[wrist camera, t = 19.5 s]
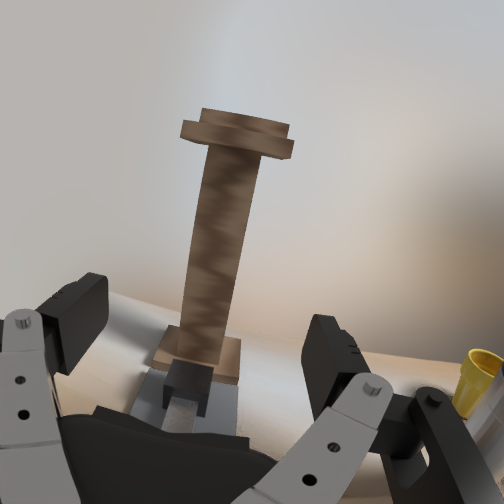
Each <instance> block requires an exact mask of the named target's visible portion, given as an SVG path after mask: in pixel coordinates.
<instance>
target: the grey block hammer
mask: <svg viewBox="0 0 504 504" xmlns="http://www.w3.org/2000/svg"><path fill="white" fill-rule="evenodd" d="M213 371H214V367H210V366H205V365H201V364H196V363H191V362H187V361H182V360H178V359H174V358H173V361H172V363H171V366H170V369H169V371H168V374H167V376H166V379H165V382H164V384H163V404H162V408H163V409H167V412H166V415H165V419H164V422H163V425H162V428H161V430H163V431H166V432H169V433H193V430H194V425H195V420H196V416H198V417H203V418H205V415H206V409H207V404H208V398H209V393H210V387H211V382H212V376H213Z"/></svg>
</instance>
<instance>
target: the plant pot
mask: <svg viewBox="0 0 504 504" xmlns="http://www.w3.org/2000/svg"><path fill="white" fill-rule="evenodd" d="M503 362H504V360H503V359H502V358H500V357H498V356H497V355H495V354H493V353H491V352H488V351H485V350H481V349H472V350H470V351H469V352H468V354H467V356H466V358H465V360H464V362H463V364H462V366H461V370H460V371H461V376H460V380H459V382H458V385H457V388H456V391H455V394H454V396H453V399H452V404H453V406H454V407H455V409H456V411H457V412H458V414H459V415H460V416H461V417H463V418H465V419H468V418H469V416H470V415H471V414H472V412H473V411H474V409H475V408H476V406H477V405H478V403H479V402H480V400H481V399H482V397H483V396H484V394H485V393H486V391H487V389H488V388H489V386H490V384H491V383H492V381H493V379H494V378H495V376H496V374H497V373H498V371H499V369H500V367H501V366H502V363H503Z"/></svg>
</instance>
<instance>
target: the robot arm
mask: <svg viewBox="0 0 504 504" xmlns="http://www.w3.org/2000/svg"><path fill="white" fill-rule="evenodd" d="M108 315H109V303H108V279H107V277H106V276H103V275H99V274H95V273H90V272H89V273H87V274H86V275H85V276H83V277H82V278H81V279H79V280H78V281H77V282H76V281H75V282H72V283H70V284H67V285H65V286H64V287H62V288H61V289H60V290H59V291H58V293H57V292H56V293H55V294H54V295H52V297H50V298H49V299H48V300H46V301H45V302H44V303H43V304H42V305H40V306H39V307H38V308H37V309H36V310H31V309H19V310H16V311H13V312H11V313H9V314H8V315H7V316H6V317H5V319H4V320H0V504H337V503H338V501H339V500H340V498H341V497H342V495H343V493H344V492H345V490H346V489H347V487H348V485H349V484H350V482H351V481H352V479H353V477H354V475H355V474H356V472H357V470H358V469H359V467H360V465H361V463H362V461H363V460H364V458H365V456H366V454H367V452H372V453H377V454H380V456H381V460H382V463H383V467H384V470H385V474H386V477H387V481H388V485H389V488H390V492H391V496H392V500H393V503H394V504H504V499H503V497H502V494H501V492H500V490H499V488H498V486H497V483H498V482H499V481H500V480H501V479H502V478H503V477H504V362H503V363H502V366H501V367H500V369H499V371H498V373H497V374H496V376H495V378H494V379H493V381H492V383H491V384H490V386H489V388H488V389H487V391H486V393H485V394H484V396H483V397H482V399H481V400H480V402H479V403H478V405H477V406H476V408H475V409H474V411H473V412H472V414H471V415H470V416H469V418H468V419H467V421H466V422H465V423H464V422H463V421H462V419H461V417H460V416H459V414H458V412H457V411H456V409H455V407H454V406H453V404H452V402H451V401H450V399H449V398H448V396H447V395H446V394H444V393H443V392H442V391H440V390H438V389H436V388H433V387H421V388H419V389H418V390H417V392H416V393H415V395H414V397H413V398H412V397H407V396H403V395H398V394H394V393H393V388H392V386H391V384H390V383H389V382H388V381H387V380H385V379H384V378H382V377H381V376H379V375H376V374H373V373H371V371H370V369H369V367H368V365H367V363H366V361H365V360H364V358H363V356H362V354H361V352H360V350H359V348H358V347H357V344H356V342H355V340H354V338H353V337H352V336H351V335H350V334H348V333H347V332H346V331H345V330H340V328H339V325H338V324H337V321H336V319H335V317H334V316H327V315H319V314H314V316H313V318H312V320H311V323H310V327H309V330H308V333H307V336H306V339H305V342H304V345H303V349H302V354H301V363H302V368H303V372H304V377H305V381H306V386H307V390H308V395H309V400H310V404H311V409H312V413H313V418H314V423H313V424H312V425H311V427H310V428H309V429H308V430H307V431H306V432H305V434H304V435H303V436H302V437H301V438H300V439H299V440H298V442H297V443H296V444H295V445H294V446H293V447H292V448H291V449H290V450H289V451H288V453H287V454H286V455H285V456H284V457H283V458H282V459H281V460H280V461H279V462H278V461H276V460H275V459H273V458H271V457H269V456H267V455H265V454H263V453H261V452H258V451H256V450H253V449H250V448H249V438H248V437H239V436H231V435H224V434H217V433H169V432H166V431H163V430H161V429H159V428H157V427H154V426H152V425H150V424H148V423H146V422H144V421H142V420H140V419H138V418H136V417H134V416H131V415H128V414H124V413H121V412H117V411H114V410H111V409H108V408H104V407H101V406H98V405H97V407H96V409H95V411H94V412H93V414H92V415H89V414H75V415H67V416H63V414H62V410H61V406H60V402H59V398H58V393H57V389H56V384H55V380H54V375H55V373H56V372H59V373H61V374H64V375H67V376H69V374H70V373H71V372H72V370H73V369H74V367H75V366H76V365H77V363H78V362H79V361H80V359H81V358H82V357H83V355H84V354H85V352H86V351H87V350H88V348H89V347H90V346H91V344H92V343H93V342H94V340H95V339H96V338H97V336H98V335H99V334H100V333H101V331H102V330H103V329H104V327H105V326H106V324H107V321H108ZM424 445H425V447H426V450H427V452H428V455H429V466H428V467H427V465H426V462H425V460H424V457H423V455H422V452H421V449H422V448H423V446H424Z"/></svg>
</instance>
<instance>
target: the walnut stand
mask: <svg viewBox="0 0 504 504" xmlns="http://www.w3.org/2000/svg"><path fill="white" fill-rule="evenodd" d="M288 130H289V124H285V123H281V122H276V121H272V120H267V119H262V118H258V117H253V116H247V115H242V114H236V113H231V112H225V111H219V110H213V109H206V108H202V111H201V116H200V120H199V122H196V121H188V120H183V125H182V130H181V134H180V138H182V139H186V140H188V141H191V142H194V143H198V144H203V145H209V148H208V152H207V157H206V162H205V167H204V172H203V177H202V183H201V189H200V194H199V199H198V205H197V211H196V216H195V222H194V228H193V235H192V241H191V247H190V254H189V261H188V267H187V274H186V282H185V289H184V296H183V304H182V312H181V320H180V327H177V326H173V325H168V327H167V330H166V332H165V334H164V336H163V338H162V340H161V342H160V345H159V347H158V349H157V351H156V353H155V355H154V358H153V360H152V368H154V369H158V370H162V371H166V372H168V371H169V369H170V366H171V363H172V361H173V358H174V359H178V360H182V361H187V362H191V363H196V364H201V365H205V366H210V367H214V371H213V376H212V381H214V382H219V383H225V384H230V385H237V384H238V380H239V370H240V350H241V339H237V338H231V337H226V336H224V335H225V330H226V325H227V320H228V314H229V310H230V304H231V300H232V295H233V290H234V285H235V280H236V275H237V270H238V265H239V260H240V256H241V251H242V246H243V241H244V236H245V231H246V227H247V221H248V217H249V212H250V207H251V203H252V197H253V193H254V188H255V184H256V179H257V174H258V169H259V165H260V160H261V156H267V157H272V158H276V159H280V160H283V159H290V158H291V154H292V150H293V145H294V140H290V139H287V134H288Z"/></svg>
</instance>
